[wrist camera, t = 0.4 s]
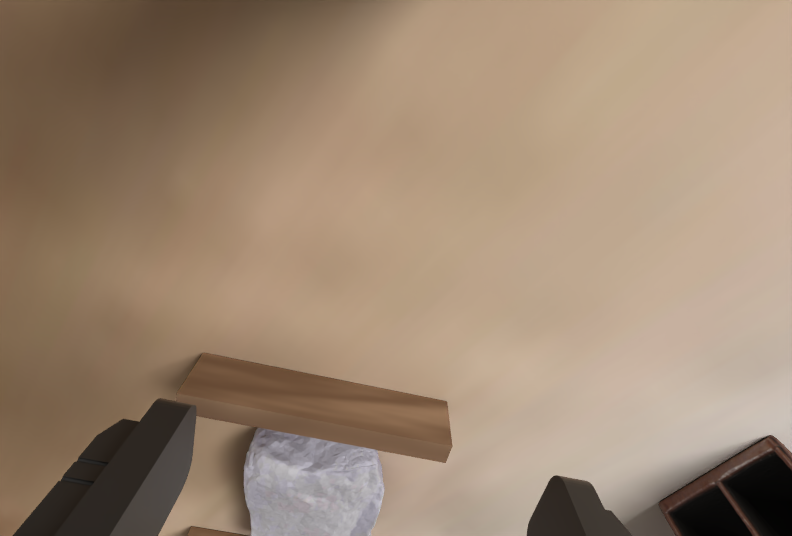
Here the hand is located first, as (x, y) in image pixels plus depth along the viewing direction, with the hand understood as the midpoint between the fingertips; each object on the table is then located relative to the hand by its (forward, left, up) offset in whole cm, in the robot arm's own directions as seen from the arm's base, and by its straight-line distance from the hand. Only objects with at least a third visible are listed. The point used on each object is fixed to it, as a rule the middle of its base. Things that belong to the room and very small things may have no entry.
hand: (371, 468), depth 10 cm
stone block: (+23, 0, -18) cm, 29 cm away
